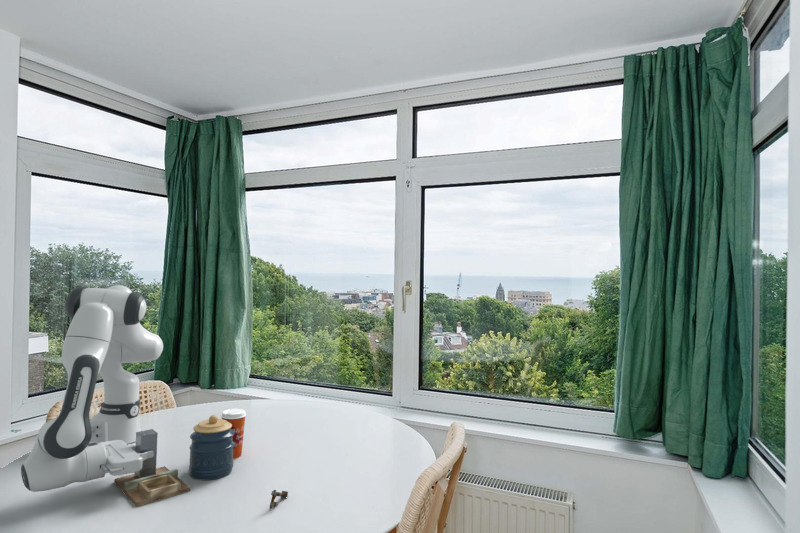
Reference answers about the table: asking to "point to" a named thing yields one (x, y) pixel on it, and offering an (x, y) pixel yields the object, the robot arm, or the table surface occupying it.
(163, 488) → the door board
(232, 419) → the coffee cup
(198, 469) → the canister
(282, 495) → the wooden post with brackets
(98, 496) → the table surface
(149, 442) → the bar
